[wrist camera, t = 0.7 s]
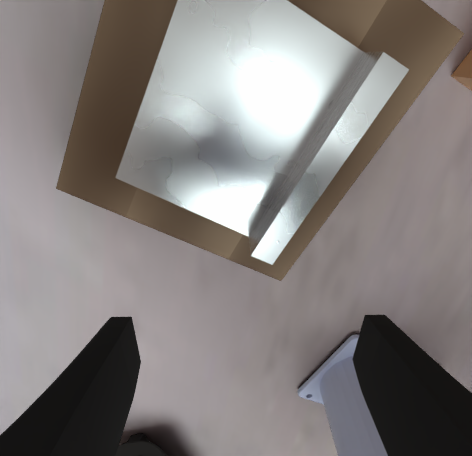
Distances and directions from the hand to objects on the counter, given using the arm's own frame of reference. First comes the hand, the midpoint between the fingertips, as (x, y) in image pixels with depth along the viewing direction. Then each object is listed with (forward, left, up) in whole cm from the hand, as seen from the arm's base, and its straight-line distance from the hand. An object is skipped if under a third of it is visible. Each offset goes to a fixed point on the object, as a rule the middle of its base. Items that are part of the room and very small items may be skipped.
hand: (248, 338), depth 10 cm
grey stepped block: (+3, -5, -6) cm, 8 cm away
